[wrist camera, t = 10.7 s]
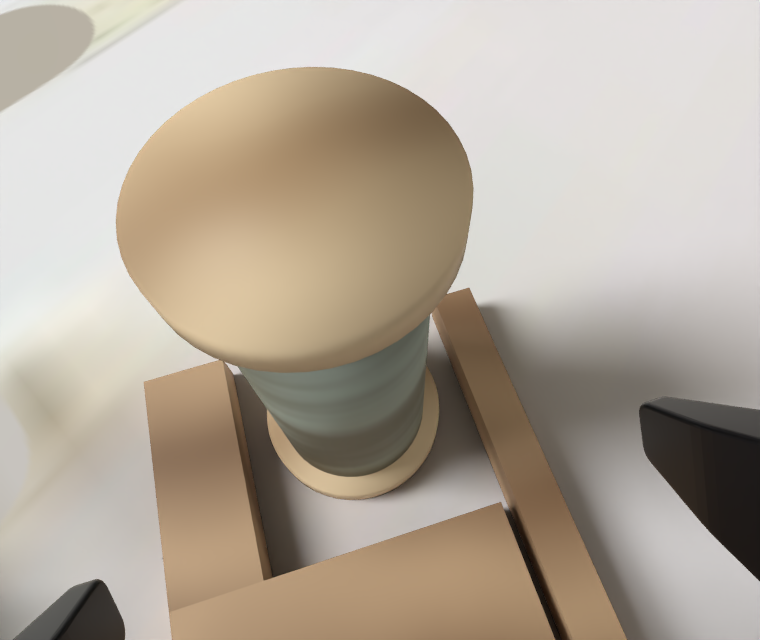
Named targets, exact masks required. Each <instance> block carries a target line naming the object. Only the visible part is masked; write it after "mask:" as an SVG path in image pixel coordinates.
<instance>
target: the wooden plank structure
mask: <svg viewBox="0 0 760 640" xmlns="http://www.w3.org/2000/svg"><path fill="white" fill-rule="evenodd" d="M432 317H433V319H434V322H435V324H436V327H437V329H438V332H439V334H440V337H441V339H442V342H443V344H444V347H445V349H446V352H447V354H448V357H449V359H450V362H451V364H452V367H453V369H454V372H455V374H456V377H457V379H458V382H459V384H460V387H461V389H462V392H463V394H464V397H465V399H466V402H467V404H468V407H469V409H470V412H471V414H472V417H473V419H474V422H475V424H476V427H477V429H478V432H479V434H480V437H481V439H482V442H483V444H484V447H485V449H486V452H487V454H488V457H489V459H490V462H491V464H492V467H493V469H494V472H495V474H496V477H497V479H498V482H499V484H500V487H501V489H502V492H503V494H504V497H505V499H506V502H507V504H508V507H509V509H510V512H511V514H512V517H513V519H514V522H515V524H516V527H517V529H518V532H519V534H520V537H521V539H522V542H523V544H524V547H525V549H526V552H527V554H528V557H529V559H530V562H531V564H532V567H533V569H534V572H535V574H536V577H537V579H538V582H539V584H540V587H541V589H542V592H543V594H544V597H545V599H546V602H547V604H548V607H549V609H550V612H551V614H552V617H553V619H554V622H555V624H556V627H557V629H558V632H559V634H560V637H561V639H562V640H627V638H626V636H625V634H624V632H623V629H622V627H621V625H620V623H619V620H618V618H617V616H616V614H615V612H614V609H613V607H612V605H611V603H610V600H609V598H608V596H607V594H606V591H605V589H604V587H603V585H602V583H601V580H600V578H599V576H598V574H597V571H596V569H595V567H594V565H593V562H592V560H591V558H590V556H589V554H588V551H587V549H586V547H585V545H584V542H583V540H582V538H581V536H580V534H579V531H578V529H577V527H576V525H575V522H574V520H573V518H572V516H571V513H570V511H569V509H568V507H567V505H566V502H565V500H564V498H563V496H562V493H561V491H560V489H559V487H558V484H557V482H556V480H555V478H554V476H553V473H552V471H551V469H550V467H549V464H548V462H547V460H546V458H545V456H544V453H543V451H542V449H541V447H540V444H539V442H538V440H537V438H536V435H535V433H534V431H533V429H532V427H531V424H530V422H529V420H528V418H527V415H526V413H525V411H524V409H523V406H522V404H521V402H520V400H519V398H518V395H517V393H516V391H515V389H514V386H513V384H512V382H511V380H510V378H509V375H508V373H507V371H506V369H505V366H504V364H503V362H502V360H501V357H500V355H499V353H498V351H497V349H496V346H495V344H494V342H493V340H492V337H491V335H490V333H489V331H488V328H487V326H486V324H485V322H484V320H483V317H482V315H481V313H480V311H479V308H478V306H477V304H476V302H475V300H474V297H473V295H472V293H471V291H470V288H466V289H463V290H460V291H456V292H453V293H449V294H446V295H445V297H444V298H443V299H442V300H441V302H440V303H439V304H438V306H437V307H436V308H435V309H434V311H433V312H432ZM144 389H145V398H146V407H147V416H148V425H149V434H150V444H151V453H152V462H153V471H154V480H155V489H156V498H157V507H158V516H159V525H160V535H161V544H162V553H163V562H164V571H165V580H166V589H167V598H168V607H169V617H170V626H171V635H172V640H555V638H554V635H553V633H552V630H551V628H550V625H549V623H548V620H547V617H546V615H545V612H544V610H543V607H542V605H541V602H540V600H539V597H538V595H537V592H536V590H535V587H534V585H533V582H532V580H531V577H530V574H529V572H528V569H527V567H526V564H525V562H524V559H523V557H522V554H521V552H520V549H519V547H518V544H517V542H516V539H515V537H514V534H513V531H512V529H511V526H510V524H509V521H508V519H507V516H506V514H505V511H504V509H503V506H502V504H501V502H499V503H496V504H493V505H490V506H487V507H484V508H481V509H478V510H475V511H472V512H469V513H466V514H463V515H460V516H457V517H454V518H451V519H448V520H445V521H442V522H439V523H436V524H433V525H430V526H427V527H424V528H421V529H418V530H415V531H412V532H409V533H406V534H403V535H400V536H397V537H394V538H391V539H388V540H385V541H382V542H379V543H376V544H373V545H370V546H367V547H364V548H361V549H358V550H355V551H352V552H349V553H346V554H343V555H340V556H337V557H334V558H331V559H328V560H325V561H322V562H319V563H316V564H313V565H310V566H307V567H304V568H301V569H298V570H295V571H292V572H289V573H286V574H283V575H280V576H277V577H274V578H273V577H272V571H271V566H270V561H269V556H268V551H267V546H266V541H265V535H264V530H263V525H262V520H261V515H260V510H259V504H258V499H257V494H256V489H255V484H254V479H253V473H252V468H251V463H250V458H249V453H248V448H247V442H246V437H245V432H244V427H243V422H242V417H241V411H240V406H239V401H238V396H237V391H236V386H235V380H234V375H233V373H232V372H231V370H230V369H229V368H228V366H227V365H226V364H225V362H224V361H221V360H218V361H215V362H211V363H208V364H204V365H201V366H197V367H194V368H190V369H187V370H183V371H180V372H177V373H173V374H170V375H166V376H163V377H159V378H156V379H152V380H149V381H145V382H144Z"/></svg>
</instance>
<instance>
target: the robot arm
mask: <svg viewBox="0 0 760 640" xmlns="http://www.w3.org/2000/svg"><path fill="white" fill-rule="evenodd" d="M639 416H640V424H641V432H642V441H643V447H644V451H645V453H646V456H647V457H648V459H649V460H650V462H651V463H652V464H653V466H654V467H655V468H656V469H657V470H658V471H659V473H660V474H661V475H662V476H663V477H664V479H665V480H666V481H667V482H668V483H669V485H670V486H671V487H672V488H673V489H674V491H675V492H676V493H677V494H678V495H679V497H680V498H681V499H682V500H683V501H684V503H685V504H686V505H687V506H688V507H689V508H690V510H691V511H692V512H693V513H694V514H695V516H696V517H697V518H698V519H699V520H700V521H701V523H702V524H703V525H704V526H705V527H706V528H707V529H708V530H709V532H710V533H711V534H712V535H713V536H714V537H715V538H716V539H717V540H718V541H719V542H720V543H721V544H722V545H723V546H724V547H725V548H726V549H727V550H728V551H729V552H730V553H731V554H732V555H733V556H734V557H735V558H737V559H738V560H739V561H740V562H741V563H742V564H743V565H744V566H745V567H746V568H747V569H748V570H749V571H750V572H751V573H752V574H753V575H754V576H755V577H756V578H757V579H758V580H759V581H760V410H756V409H749V408H742V407H735V406H728V405H721V404H714V403H707V402H700V401H693V400H686V399H678V398H671V397H660V398H657V399H654V400H651V401H648V402H645V403H643V404H642V405H641V406H640V410H639ZM13 640H125V627H124V622H123V619H122V617H121V615H120V612H119V610H118V608H117V606H116V604H115V602H114V600H113V598H112V596H111V594H110V592H109V590H108V587H107V586H106V584H105V583H104V582H103V581H102V580H99V579H95V580H92V581H89V582H86V583H82V584H79V585H76V586H74V587H72V588H70V589H69V590H68V591H67V592H66V593H64V594H63V595H62V596H61V597H60V598H59V599H58V600H57V601H56V602H54V603H53V604H52V605H51V606H50V607H49V608H48V609H47V610H46V611H44V612H43V613H42V614H41V615H40V616H39V617H38V618H37V619H36V620H34V621H33V622H32V623H31V624H30V625H29V626H28V627H27V628H25V629H24V630H23V631H22V632H21V633H20V634H19V635H18V636H17V637H15V638H14V639H13Z"/></svg>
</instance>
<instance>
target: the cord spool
mask: <svg viewBox="0 0 760 640" xmlns="http://www.w3.org/2000/svg"><path fill="white" fill-rule="evenodd" d="M472 206H473V181H472V173H471V168H470V165H469V161H468V158H467V154H466V152H465V150H464V148H463V146H462V144H461V142H460V140H459V138H458V136H457V135H456V133H455V132H454V130H453V129H452V127H451V126H450V125H449V123H448V122H447V121H446V120H445V119H444V118H443V117H442V116H441V115H440V114H439V112H438V111H437V110H435V109H434V108H433V107H432V106H431V105H429V104H428V103H427V102H426V101H424V100H423V99H422V98H420V97H419V96H417V95H415V94H414V93H412V92H411V91H409V90H407V89H405V88H403V87H401V86H399V85H397V84H395V83H393V82H391V81H388V80H385V79H382V78H379V77H376V76H374V75H370V74H366V73H362V72H357V71H353V70H346V69H338V68H326V67H303V68H289V69H282V70H275V71H270V72H265V73H261V74H256V75H252V76H249V77H246V78H243V79H240V80H237V81H234V82H231V83H229V84H226V85H224V86H222V87H219V88H217V89H215V90H213V91H211V92H209V93H207V94H205V95H203V96H201V97H200V98H198V99H196V100H195V101H193V102H192V103H190V104H189V105H187V106H185V107H184V108H182V109H181V110H180V111H178V112H177V113H176V114H175V115H174V116H172V117H171V118H170V119H169V120H167V121H166V122H165V123H164V124H163V125H162V126H161V127H160V128H159V129H158V130H157V131H156V132H155V133H154V134H153V135H152V136H151V137H150V139H149V140H148V141H147V142H146V144H145V145H144V146H143V148H142V149H141V150H140V151H139V153H138V155H137V156H136V158H135V160H134V161H133V163H132V165H131V166H130V168H129V171H128V173H127V175H126V178H125V180H124V182H123V185H122V188H121V192H120V196H119V200H118V204H117V214H116V231H117V241H118V245H119V249H120V253H121V257H122V260H123V262H124V264H125V266H126V269H127V271H128V273H129V275H130V277H131V278H132V280H133V281H134V283H135V284H136V286H137V287H138V289H139V290H140V292H141V293H142V294H143V295H144V297H145V298H146V299H147V300H148V301H149V303H150V304H151V305H152V306H153V307H154V308H155V310H156V311H157V312H158V313H159V314H160V316H161V317H162V318H163V319H164V320H165V322H166V323H167V324H168V325H169V326H170V327H171V328H172V329H173V330H174V331H175V332H176V333H177V334H178V335H179V336H180V337H182V338H183V339H184V340H186V341H187V342H188V343H190V344H191V345H192V346H194V347H195V348H197V349H199V350H201V351H202V352H204V353H206V354H208V355H210V356H212V357H214V358H216V359H219V360H221V361H224V362H227V363H230V364H232V365H235V366H238V368H239V369H240V371H241V372H242V374H243V375H244V376H245V378H246V379H247V381H248V382H249V384H250V385H251V387H252V388H253V389H254V391H255V392H256V394H257V395H258V397H259V398H260V400H261V401H262V402H263V404H264V405H265V407H266V408H267V425H268V430H269V435H270V438H271V441H272V444H273V446H274V448H275V450H276V452H277V454H278V456H279V457H280V459H281V460H282V462H283V463H284V464H285V466H286V467H287V468H288V469H289V470H290V472H291V473H292V474H293V475H294V476H295V477H296V478H297V479H298V480H299V481H301V482H302V483H303V484H304V485H306V486H307V487H309V488H311V489H312V490H314V491H316V492H318V493H321V494H323V495H326V496H329V497H333V498H337V499H346V500H360V499H367V498H372V497H376V496H379V495H382V494H385V493H387V492H389V491H391V490H394V489H395V488H397V487H398V486H400V485H402V484H403V483H404V482H406V481H407V480H408V479H409V478H410V477H412V476H413V475H414V473H415V472H416V471H417V470H418V469H419V468H420V467H421V465H422V464H423V463H424V461H425V460H426V458H427V456H428V454H429V452H430V450H431V448H432V446H433V443H434V440H435V436H436V432H437V427H438V420H439V397H438V392H437V387H436V385H435V382H434V379H433V377H432V375H431V373H430V371H429V369H428V367H427V366H426V361H427V347H428V334H429V320H430V314H431V313H432V312H433V311H434V309H435V308H436V307H437V306H438V304H439V303H440V302H441V300H442V299H443V298H444V297H445V295H446V294H447V292H448V290H449V289H450V287H451V285H452V283H453V282H454V280H455V278H456V276H457V274H458V271H459V268H460V266H461V263H462V261H463V257H464V253H465V248H466V244H467V238H468V232H469V226H470V219H471V213H472Z"/></svg>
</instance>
